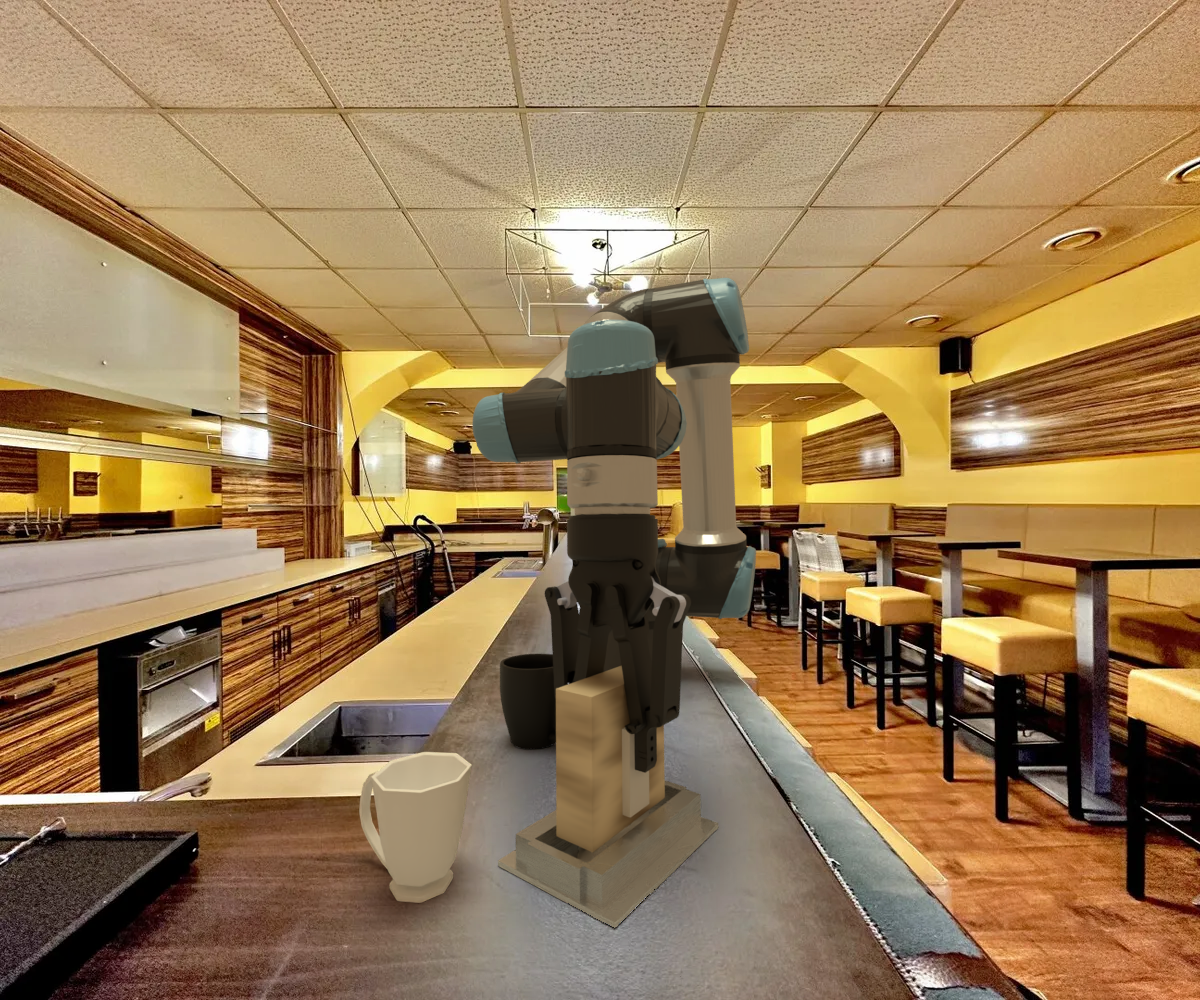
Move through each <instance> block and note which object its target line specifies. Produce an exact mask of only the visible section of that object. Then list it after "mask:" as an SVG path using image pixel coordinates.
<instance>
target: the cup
mask: <svg viewBox="0 0 1200 1000" xmlns="http://www.w3.org/2000/svg"><path fill="white" fill-rule="evenodd" d="M472 765H473V764H471V763H470V762H469V761H468V760H466V759H465V758H464V757H462V755H460V754H459V753H456V752H436V751H435V752H434V751H422V752H418V753H415V754H410V755H407V756H402V757H399V758H395V759H392V760H389V761H388V762H387V763H386V764H385V765H383V767H381V768H380V769H379V770H376V771H374V772H373V773H370V774H368V776H367V778H366V779H365V781H364V782H363V784H362V789H361V794H360V799H359V809H358V810H359V811H358V813H359V819H360V824H361V825H360V826H361V828H362V831H363V833H364V836H365V838H366V841H368V843H369V845H370V847H371V848H372V850H373V852H374V853H375V855H376V856H377V858H378V860H379V861H380V862H381V864H382V865H383V866H384V867H385V869H387V872H388V873H389V875H390V877H391V878H392V879H391V881H390V882H389V890H390V891H391V893H392V895H393V897H394V898H395V900H396V901H397V902H406V903H416V904H417V903H419V904H421V903H424V902H425V901H428V900H430V899H433V898H435V897H437V896H440V895H442V894H444V893H445V892H446V890H447V889H448V887H449V886H450V884H451V882H452V880H453V879H454V872H453V871H452V870H451V867H452V865H453V864H454V862H455V861H456V857H457V852H458V850H459V845H460V841H461V836H462V832H463V827H464V821H465V813H466V807H467V806H466V805H467V798H468V792H469V787H470V781H471V774H472V767H473V766H472ZM372 793H373V797H374V803H375V805H374V806H375V811H376V818H377V824H378V825H377V826H378V831H379V832H378V831H377V829H376V827H375V825H374V823H373V819H372V811H371V798H372Z"/></svg>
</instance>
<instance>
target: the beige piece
mask: <svg viewBox="0 0 1200 1000" xmlns="http://www.w3.org/2000/svg"><path fill="white" fill-rule="evenodd" d="M701 805H702V804H701V793H699V792H696V791H692V790H689V789H687V787H686V786H684V785H680V784H679V783H674V782H672V781H669V780H665V798H664V799H663V800H661V801H660V802H659V803H657V804H656V805H655V806H653V807H652V808H651V809H649V810H648V811H647V812H645V813H644V814H643V815H641V816H640V817H639V818H638V819H636V820H635V821H634V822H632V823H631V824H630V825H628V826H627V827H626V828H624V829H623V830H622V831H620V832H619V833H618V834H616V835H615V836H614V837H612V838H611V839H610V840H609V841H607V842H606V843H605V844H603V845H602V846H601V847H599V848H598V849H597V850H595V851H594V852H591V851H588V850H586V849H584V848H582V847H579V846H577V845H575V844H573V843H571V842H568V841H566V840H564V839H562V838H559V837H557V836H556V809H554V810H553V811H551V812H550V813H548V814H547V815H545V816H544V817H541V818H540V819H538V820H536V821H535V822H533V823H532V824H530V825H528V826H526V827H525V828H523V829H522V830H519V832H517V833H515V849H514V850H512V851H511V852H509V853H508V854H506V855H504V856H503V857H501V858H500V859H498V860H497V866H498V867H499V868H501V869H503V870H504V871H507V872H509V873H510V874H512V875H514V876H516V877H517V878H520V879H521V880H523V881H525V882H527V883H529V884H531V885H532V886H534V887H536V888H538V889H540V890H542V891H544V892H546V893H547V894H549V895H551V896H553V897H555V898H557V899H559V900H560V901H562V902H564V903H566V904H568V903H569V904H570V905H569V904H568V905H569V906H571V905H572V907H573V906H574V908H575V907H576V908H575V909H577V908H578V909H577V910H579V909H580V910H579V911H581V910H582V911H583V912H582V911H581V912H582V913H584V912H586V913H587V914H586V913H585V914H586V915H588V914H589V915H588V916H590V915H591V916H590V917H592V916H593V917H592V918H594V917H595V918H596V920H597V919H598V920H597V921H599V920H600V921H599V922H601V921H602V922H601V923H603V922H605V923H607V924H609V925H611V926H612V927H614V928H615V927H617V926H618V924H619V923H621V921H623V919H625V918H626V917H627V915H629V914H630V912H631V911H632V910H634V909H635V907H636V906H637V905H638V904H640V902H642V900H644V898H645V897H647V896H648V895H649V894H650V893H651V894H652V893H654V892H655V890H656V889H658V888H659V886H661V885H662V884H663V883H664V882H665V881H666V880H667V879H668V878H669V877H670V876H671V875H672V874H673V873H674V872H675V871H676V870H677V869H678V868H679V867H680V866H681V865H682V864H683V863H684V862H686V860H687V859H689V857H690V856H691V855H692V854H693V853H694V852H695V851H696V850H697V849H698V848H699V847H700V846H701V845H702V844H703V843H704V842H706V841H707V839H709V838H710V837H711V836H712V835H713V834H714V833H715V832H716V831H717V830H719V822H717V821H715V820H714V821H713V820H710V819H708V818H707V817H702V813H701V809H702V806H701ZM654 889H655V890H654ZM651 894H650V895H651ZM650 895H649V896H650ZM649 896H648V897H649ZM648 897H647V898H648ZM644 901H645V900H644ZM642 903H643V902H642ZM640 905H641V904H640ZM635 910H636V909H635ZM635 910H634V911H635ZM630 915H631V914H630ZM630 915H629V916H630ZM595 918H594V919H595ZM627 918H628V917H627ZM627 918H626V919H627ZM626 919H625V920H626ZM623 922H624V921H623ZM605 923H604V924H605ZM621 924H622V923H621ZM612 927H611V928H612ZM618 927H619V926H618ZM618 927H617V928H618ZM614 928H613V929H614Z"/></svg>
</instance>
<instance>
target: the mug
mask: <svg viewBox="0 0 1200 1000" xmlns="http://www.w3.org/2000/svg"><path fill="white" fill-rule="evenodd" d="M499 694H500V695H499V696H500V703H501V709H502V711H503V712H502V713H503V716H504V720H505V725H506V728H507V731H508V732H507V733H508V735H509V740H510V743H511V745H512V746H513V747H516V748H519V749H523V750H539V749H540V750H541V749H545V748H548V747H551V746H553V745H556V699H555V693H554V673H553V653H551V654H550V653H526V654H519V655H517V654H515V655H512V656H509V657H506V658H503V659H502V660H501V661H500V663H499Z"/></svg>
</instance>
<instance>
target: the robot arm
mask: <svg viewBox="0 0 1200 1000" xmlns="http://www.w3.org/2000/svg"><path fill="white" fill-rule="evenodd" d="M749 351H750V344H749V335H748V326H747V322H746V317H745V311H744V306H743V301H742V297H741V292H740V289H739V286H738V284H737V283H736V281H735V280H733V279H732V278H729V277H720V278H709V279H708V278H703V279H700V280H699V279H698V280H693V281H688V282H682V283H677V284H671V285H670V284H669V285H666V286H665V285H664V286H659V287H653V288H643V289H640V290H635V291H632V292H631V293H628V294H626V295H622V296H621V297H619V298H617V299H615V300H613V301H612V302H610V303H608V304H606V305H605V306H604V307H602V308H600V309H598V311H597V312H595V313H594V314H593V315H591V316H590V317H589V318H588V319H587V320H586V321H584V323H583V324H582V325H580V326H579V327H577V328H576V329H574V330H573V331H572V333H570V335H569V337H568V340H567V346H566V347H565V348H564V349H563V350H562V351H561V352H560V353H559V354H558V355H557V356H555V357H554V358H553V359H552V360H551V361H550V362H548V364H546V365H545V366H544V367H543V368H542V369H541V370H540V371H539V372H538V373H536V374H535V375H534V376H533V377H532V378H531V379H530V380H528V382H526V383H525V384H524V385H523V386H522V387H521V388H519V389H518V390H517V391H515V392H509V393H506V392H500V393H499V394H493V395H487V396H485V397H482V398H481V399H480V400H479V401H478V402H477V404H476V406H475V408H474V412H473V416H472V433H473V437H474V440H475V442H476V447H477V448H478V451H479V452H480V453H481V455H482V456H483V457H484V458H485V459H487V460H488V461H491V462H494V463H515V464H516V465H518V464H521V463H527V462H528V463H529V462H544V461H561V460H563V461H564V460H566V464H567V465H566V466H567V468H566V471H567V472H566V473H567V476H566V477H567V478H566V479H567V482H566V484H567V485H566V487H567V494H566V495H567V499H566V500H567V506H568V507H569V508H570V509H574V515H569V519H566V524H567V525H566V553H567V556H568V558H569V559H570V560H571V561H572V566H571V570H570V573H569V575H568V580H567V581H566V582H564V583H562V584H560V585H556V586H549V587H546V588H545V589H544V597H545V601H546V604H547V607H548V611H549V613H550V630H551V631H550V632H551V647H552V648H551V649H552V651H551V654H553V673H554V693H555V699H556V689H557V688H560V687H562V686H565V685H568V684H571V683H574V682H577V681H579V680H582V679H585V678H588V677H591V676H594V675H596V674H599V673H602V672H605V671H608V670H611V669H613V668H616V667H619V666H622V672H623V679H624V686H625V692H626V699H627V706H628V713H629V719H630V723H629V724H627V725H625V728H623V729H622V806H623V815H624V816H627V817H630V818H631V817H632V816H633V815H635V814H636V813H637V812H639V811H640V810H641V809H643V808H644V807H646V806H647V805H648V804H649V770H650V769H652V768H653V767H655V765H656V762H657V728H659V727H661V726H663V725H664V726H666V724H668V723H670V722H672V721H674V720H675V719H677V718H678V717H679V716H680V706H681V701H680V700H681V684H682V683H681V682H682V680H681V679H682V678H681V677H682V661H683V660H682V659H683V638H684V637H683V636H684V635H683V633H684V623H685V621H686V618H687V617H698V618H699V617H700V618H713V619H714V618H715V619H718V620H722V619H740V618H744V617H745V616H746V615H747V614H748V613H749V611H750V608H751V602H752V597H753V590H754V583H755V581H754V580H755V573H756V563H757V562H756V561H757V550H756V548H755V547H752V546H751V545H749V546H747V535H746V534H745V533H743V531H742V530H741V529H739V528H738V526H737V514H736V488H735V487H736V486H735V485H736V484H735V467H734V466H735V463H734V440H733V439H734V437H733V435H734V434H733V415H732V414H733V412H732V391H731V390H732V389H731V387H732V386H731V385H732V384H731V380H732V376H733V375H734V374H735V372H736V371H737V370H738V369H739V368H740V366H741V364H740V361H741V360H740V357H741V356H740V355H745V354H747V353H748V352H749ZM659 363H665V374H667V375H668V376H669V377H670V378H671V380H672V379H673V381H674V382H675V388H676V390H675V392H676V394H675V393H674V392H673V391H672V390H670V389H669V388H667V387H666V386H665V385H664V384H662V381H661V380H660V379H659V378H658V377H657V365H658V364H659ZM677 449H679V467H680V469H679V470H680V484H681V485H680V486H681V507H682V509H681V510H682V526H683V527H682V530H681V531H680V532H679V533H678V534H677V535H676V536H675V537H674V546H668V544H667V541H666V539H664V538H659V536H658V535H659V533H658V531H659V530H658V521H659V520H658V519H659V518H656V515H655V514H651V509H653V508H656V507H657V506H658V503H659V502H658V496H659V495H658V460H659V459H664V458H666V457H668V456H669V455H671V454H673V453H674V452H675V451H676V450H677ZM578 607H579V608H578Z"/></svg>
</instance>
